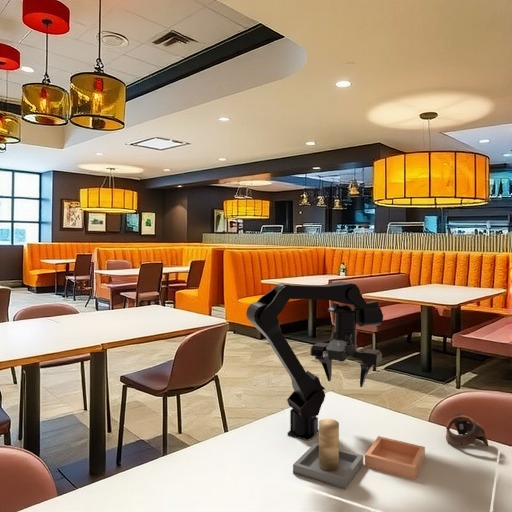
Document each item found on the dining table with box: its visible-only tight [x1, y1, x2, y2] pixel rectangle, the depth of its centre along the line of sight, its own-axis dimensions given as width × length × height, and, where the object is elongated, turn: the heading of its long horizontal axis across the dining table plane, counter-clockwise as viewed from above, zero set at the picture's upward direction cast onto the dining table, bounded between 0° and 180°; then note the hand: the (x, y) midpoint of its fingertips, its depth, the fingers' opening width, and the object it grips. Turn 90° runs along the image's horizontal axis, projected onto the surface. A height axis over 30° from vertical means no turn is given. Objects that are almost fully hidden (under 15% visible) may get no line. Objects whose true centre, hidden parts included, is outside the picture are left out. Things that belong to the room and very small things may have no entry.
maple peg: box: [318, 418, 340, 472], centre depth 99 cm, size 4×4×10 cm
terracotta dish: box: [364, 435, 426, 480], centre depth 103 cm, size 11×11×3 cm
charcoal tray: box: [292, 442, 364, 490], centre depth 100 cm, size 12×12×2 cm
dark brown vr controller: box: [445, 412, 489, 447], centre depth 113 cm, size 12×10×8 cm
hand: (345, 383), depth 122 cm, fingers open, 9 cm apart
